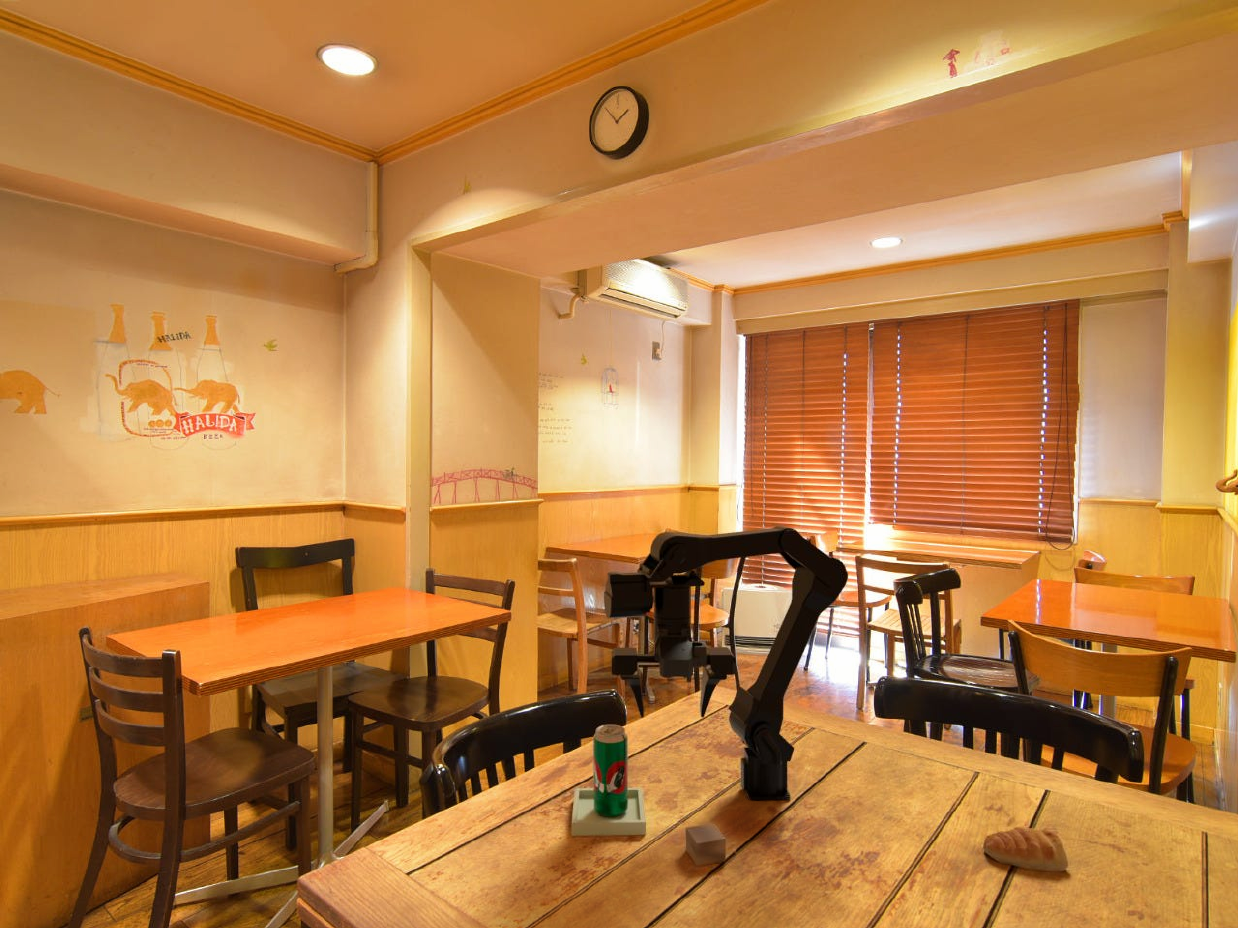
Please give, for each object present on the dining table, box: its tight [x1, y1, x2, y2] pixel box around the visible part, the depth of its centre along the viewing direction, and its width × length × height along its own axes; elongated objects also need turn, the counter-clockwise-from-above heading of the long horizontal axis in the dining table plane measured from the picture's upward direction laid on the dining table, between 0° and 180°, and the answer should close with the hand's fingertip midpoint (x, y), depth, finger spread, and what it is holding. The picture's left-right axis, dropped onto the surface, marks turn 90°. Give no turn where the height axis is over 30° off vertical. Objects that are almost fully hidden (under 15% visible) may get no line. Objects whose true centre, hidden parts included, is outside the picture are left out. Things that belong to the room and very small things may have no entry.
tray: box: [571, 787, 647, 837], centre depth 105 cm, size 10×10×2 cm
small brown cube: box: [685, 823, 727, 867], centre depth 94 cm, size 4×4×3 cm
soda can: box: [592, 724, 629, 818], centre depth 105 cm, size 5×5×12 cm
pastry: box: [982, 826, 1069, 873], centre depth 94 cm, size 9×7×4 cm
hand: (672, 716), depth 109 cm, fingers open, 9 cm apart
